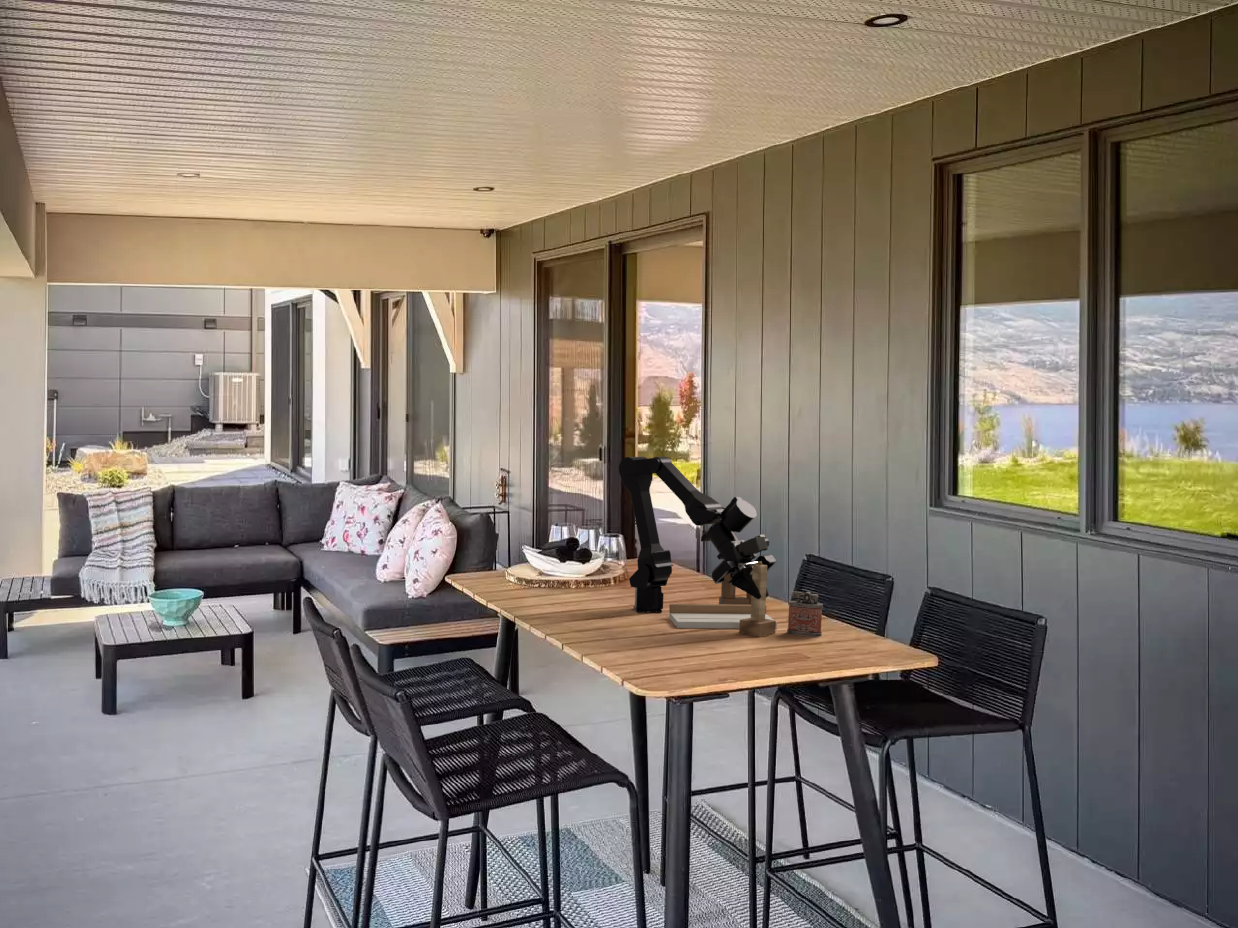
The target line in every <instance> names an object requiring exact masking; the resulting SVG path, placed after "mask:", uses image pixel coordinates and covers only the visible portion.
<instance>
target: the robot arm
mask: <svg viewBox="0 0 1238 928" xmlns="http://www.w3.org/2000/svg"><path fill="white" fill-rule="evenodd" d="M618 473H619V477H620V480H621V483H622V485H623V486H624V487H625V488H626V490H627V491H628V492H629V494H630V498H631V504H632V508H633V509H632V510H633V515H634V520H635V525H636V530H637V535H638V541H639V545H640V546H639V547H640V550H639V554H638V557H637V570H635V572H634V573H633V574H632V575H631V576H630V577H629V579H628V581H629V584H630V585H629V586H630V587H631V588H634V605H633V609H634V611H635V612H636V613H663V609H664V592H663V591H662V587H666V586H667V583H668V580H669V578H670V576H671V575H672V573H673V568H672V567H674V564H673V562H672V561H673V560H672V557H671V555H672V554H671V551H670V550H669V549H666V550H665V549H664V548H663V546H661V543H660V538H659V532H658V528H657V522H656V516H655V512H654V507H653V501H652V496H651V492H650V490H651V485H652V483H653V478H654V477H653V474H655V475H656V476H657V477H658V478H659V479H660V480H661V481H662V482H663V483H664V484H665V485H666V486H667V487H668V488H669V490H670V491H671V492H672V493H673V494H674V495H675V496H676V497H677V498H678V499H679V500H680V501H681V503H682V504H683V506H684V510H685V514H686V515H687V516H688V518H689V520H691V522H692V524H694V525H695V526H697V527H700V526H701V527H702V526H710V527H708V529H702V531H701V532H702V534H701V536H700V541H701V542H704V543H705V542H711V544H712V545H713V547H714V548H715V550H716V551H717V553H718V554H717V556H716V557H717V559H718V560H721V562H720V563H719V564H718V565H716V567H715V568H714V569H713V570H712V571H711V579H712V581H713V583H714V584H715V585H719V584H722V583H723V582H724V576H725V575H728V574H729V575H730V577H731V580H730V581H729V582H728V583H729V584H730V585H734V586H735V587H736V588H738V589H739V590H741V591H743V592H745V594H746V593H748V594H750V595H752V596H753V597H755V598H757V599H760V598H761V597H762V596H761V594H760V592H759V590H758V588H757V586H756V585H755V583H754V581H753V579H752V573H753V565H755V564H758V562H759V561H761V562H762V565H767V572H768V571H770V569H771V568H773V567H774V565H775V564H776V563H777V560H776V558H775V557H774V556H773V554H761V555H759V556H758V555H757V554H759V553H761V552H765V551H768V550H769V548H768V547H769V546H770V540H769V539H768V538H767V536H766V535H765V534H764V533H763V534H758V535H755V536H754V537H753V538H749V539H747V540H744V539H741V540H740V539H739V538H738V536H737V535H736V534H735V533H741V532H743V531H744V529H746V527H748V525H749V524H751V522H752V521H753V520H754V519H755V518H756V517H757V515H758V514H757V510H756V509H755V507H754V505H752V504H751V503H749V502H748V501H746V500H744V499H743V498H742V497H741V496H734V497H733V498H732V499H731V501H730V502H729V503H728V504H727V506H726V507H725V506H724V507H723V506H722V505H721V504H720V503H719V502H718V501H716V500H715V499H714V498H713V497H711V496H710V495H707V494H705V493H703V492H701V491H700V490H699V489H697V488H696V486H694V485H693V483H692V482H691V481H690V480H689V479H688V478H687V477H686V476H685V475H684V474H683V473H682V472H681V471H680V470H679V469H678V468H677V466H676V465H675V464H673V463H672V460H671V458H669V457H667V456H654V457H651V458H647V457H646V456H627V457H624V458H622V460H620V463H619V464H618ZM756 557H757V558H756ZM754 559H755V560H754ZM723 560H724V561H723ZM753 560H754V561H753ZM768 597H769V591H768V587H767V586H766V599H767V598H768Z"/></svg>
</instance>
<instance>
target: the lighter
mask: <svg viewBox="0 0 1238 928" xmlns="http://www.w3.org/2000/svg"><path fill="white" fill-rule="evenodd" d="M791 598H796V600H788V603H787V604H788V620H787V630H786V634H788V635H792V636H794V635H795V636H801V637H810V636H813V638H820V637H819V636H821V637H822V618H823V616H822V615H823V614H822V613H823V608H824V605H823V603H820V602H818V601H819V594H817V593H816V594H815V593H811V591H806V592H805V593H804V592H802V591H794V590H793V591H792V592H791ZM801 599H802V600H801Z"/></svg>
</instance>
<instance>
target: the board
mask: <svg viewBox="0 0 1238 928" xmlns="http://www.w3.org/2000/svg"><path fill="white" fill-rule="evenodd" d="M668 609H669V611H668V619H669V620H670V621H671V622H672V623H673V624H674V626H675V627H676V628H677V629H738V630H739V624H740V620H742V619H747V618H751V605H732V604H719V603H718V604H713V603H710V604H709V603H697V604H696V603H669V607H668ZM765 619H769V620H774V619H773V618H772V617H771V616H770V615H768V614H767V605H766V609H765ZM777 629H778V622H777V621H776V629H775V630H777Z"/></svg>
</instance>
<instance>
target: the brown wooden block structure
mask: <svg viewBox="0 0 1238 928" xmlns="http://www.w3.org/2000/svg"><path fill="white" fill-rule="evenodd" d="M722 561H724V560H723V559H722ZM730 580H731V577H730V575H729V574H728V575H725V576H724V582H723V583H721V589H720V592H721V593H720V596H719V597H718V604H732V605H751V597H752V595H750V594H748V593H746V592H745V594H746V597H743V596H736V588H737V587H735V586H734V585H730V584H729V583H728V582H729V581H730Z"/></svg>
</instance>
